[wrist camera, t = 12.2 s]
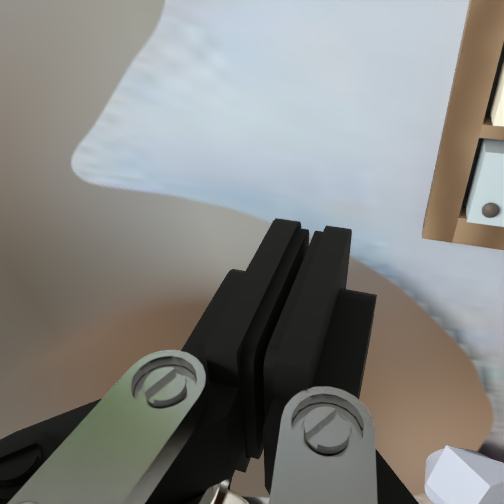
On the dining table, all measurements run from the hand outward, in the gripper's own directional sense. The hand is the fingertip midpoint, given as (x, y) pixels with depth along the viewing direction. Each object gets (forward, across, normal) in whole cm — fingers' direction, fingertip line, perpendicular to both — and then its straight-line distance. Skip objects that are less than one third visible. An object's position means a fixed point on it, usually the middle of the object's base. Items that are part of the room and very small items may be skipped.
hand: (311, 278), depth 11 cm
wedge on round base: (+31, -15, +50) cm, 61 cm away
